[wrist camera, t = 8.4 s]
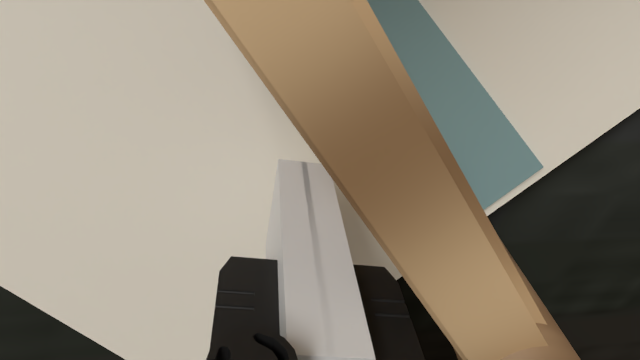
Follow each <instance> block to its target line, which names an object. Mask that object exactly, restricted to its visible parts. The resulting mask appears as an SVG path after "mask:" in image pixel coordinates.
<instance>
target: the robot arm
mask: <svg viewBox="0 0 640 360" xmlns="http://www.w3.org/2000/svg"><path fill="white" fill-rule="evenodd" d="M404 302H405V300H404V297H403V294H402V291H401V288H400V285H399V283H398V282H397V280H396V279H395V278H394V277H393V276H392V275H391V274H390V273H389V271H388V270H387V269H386V268H385V267H380V266H367V265H354V264H353V262H352V258H351V254H350V250H349V246H348V241H347V237H346V233H345V229H344V225H343V221H342V216H341V212H340V208H339V204H338V200H337V196H336V191H335V187H334V183H333V179H332V178H331V176H330V175H329V174H328V172H327V171H326V169H325V168H324V167H323V165H322V164H318V163H309V162H301V161H292V160H283V159H278V164H277V171H276V177H275V184H274V191H273V198H272V205H271V211H270V218H269V225H268V232H267V238H266V259H260V258H247V257H234V256H231V257H230V258H229V260H228V261H227V262H226V263H225V265H224V266H223V267H222V268H221V270H220V271H219V278H218V286H217V294H216V302H215V310H214V318H213V326H212V334H211V342H210V350H209V353H208V356H207V358H206V360H425V358H424V355H423V352H422V349H421V346H420V343H419V340H418V337H417V334H416V332H415V329H414V326H413V323H412V320H411V319H410V314H409V311H408V309H407V306H406V304H405V303H404Z"/></svg>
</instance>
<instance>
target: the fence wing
mask: <svg viewBox="0 0 640 360" xmlns="http://www.w3.org/2000/svg"><path fill="white" fill-rule="evenodd" d="M204 1H205V3H206V4H207V6H208V7H209V8H210V10H211V11H212V13H213V14H214V15H215V17H216V18H217V19H218V21H219V22H220V24H221V25H222V26H223V28H224V29H225V31H226V32H227V33H228V35H229V36H230V37H231V39H232V40H233V42H234V43H235V44H236V46H237V47H238V49H239V50H240V51H241V53H242V54H243V56H244V57H245V58H246V60H247V61H248V62H249V64H250V65H251V67H252V68H253V69H254V71H255V72H256V74H257V75H258V76H259V78H260V79H261V81H262V82H263V83H264V85H265V86H266V87H267V89H268V90H269V92H270V93H271V94H272V96H273V97H274V99H275V100H276V101H277V103H278V104H279V106H280V107H281V108H282V110H283V111H284V112H285V114H286V115H287V117H288V118H289V119H290V121H291V122H292V124H293V125H294V126H295V128H296V129H297V131H298V132H299V133H300V135H301V136H302V137H303V139H304V140H305V142H306V143H307V144H308V146H309V147H310V149H311V150H312V151H313V153H314V154H315V156H316V157H317V158H318V160H319V161H320V162H321V164H322V165H323V167H324V168H325V169H326V171H327V172H328V174H329V175H330V176H331V178H332V179H333V181H334V182H335V183H336V185H337V186H338V187H339V189H340V190H341V192H342V193H343V194H344V196H345V197H346V199H347V200H348V201H349V203H350V204H351V206H352V207H353V208H354V210H355V211H356V212H357V214H358V215H359V217H360V218H361V219H362V221H363V222H364V224H365V225H366V226H367V228H368V229H369V231H370V232H371V233H372V235H373V236H374V237H375V239H376V240H377V242H378V243H379V244H380V246H381V247H382V249H383V250H384V251H385V253H386V254H387V255H388V257H389V258H390V260H391V261H392V262H393V264H394V265H395V267H396V268H397V269H398V271H399V272H400V274H401V275H402V276H403V278H404V279H405V280H406V282H407V283H408V285H409V286H410V287H411V289H412V290H413V292H414V293H415V294H416V296H417V297H418V299H419V300H420V301H421V303H422V304H423V305H424V307H425V308H426V310H427V311H428V312H429V314H430V315H431V317H432V318H433V319H434V321H435V322H436V324H437V325H438V326H439V328H440V329H441V330H442V332H443V333H444V335H445V336H446V337H447V339H448V340H449V342H450V343H451V344H452V346H453V348H454V351H455V353H456V356H457V358H458V360H580V358H579V357H578V355H577V354H576V352H575V351H574V349H573V348H572V346H571V345H570V343H569V342H568V340H567V339H566V337H565V336H564V334H563V333H562V331H561V330H560V328H559V327H558V325H557V324H556V322H555V321H554V319H553V318H552V316H551V315H550V313H549V312H548V310H547V309H546V307H545V306H544V304H543V303H542V301H541V300H540V298H539V297H538V295H537V294H536V292H535V291H534V289H533V288H532V286H531V285H530V283H529V282H528V280H527V279H526V277H525V276H524V274H523V273H522V271H521V270H520V268H519V267H518V265H517V264H516V262H515V261H514V259H513V258H512V256H511V255H510V253H509V252H508V250H507V249H506V247H505V246H504V244H503V243H502V241H501V240H500V238H499V237H498V235H497V233H496V232H495V230H494V228H493V226H492V224H491V223H490V221H489V219H488V217H487V215H486V214H485V212H484V210H483V208H482V206H481V205H480V203H479V201H478V199H477V197H476V196H475V194H474V192H473V190H472V188H471V187H470V185H469V183H468V181H467V179H466V178H465V176H464V174H463V172H462V170H461V169H460V167H459V165H458V163H457V161H456V160H455V158H454V156H453V154H452V152H451V151H450V149H449V147H448V145H447V143H446V142H445V140H444V138H443V136H442V134H441V133H440V131H439V129H438V127H437V125H436V124H435V122H434V120H433V118H432V116H431V115H430V113H429V111H428V109H427V107H426V106H425V104H424V102H423V100H422V98H421V97H420V95H419V93H418V91H417V89H416V88H415V86H414V84H413V82H412V80H411V79H410V77H409V75H408V73H407V71H406V70H405V68H404V66H403V64H402V62H401V61H400V59H399V57H398V55H397V53H396V52H395V50H394V48H393V46H392V44H391V43H390V41H389V39H388V37H387V35H386V34H385V32H384V30H383V28H382V26H381V25H380V23H379V21H378V19H377V17H376V16H375V14H374V12H373V10H372V8H371V7H370V5H369V3H368V1H367V0H204Z"/></svg>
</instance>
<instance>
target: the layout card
mask: <svg viewBox="0 0 640 360" xmlns="http://www.w3.org/2000/svg"><path fill="white" fill-rule="evenodd" d="M367 1H368V3H369V5H370V7H371V8H372V10H373V12H374V14H375V16H376V17H377V19H378V21H379V23H380V25H381V26H382V28H383V30H384V32H385V34H386V35H387V37H388V39H389V41H390V43H391V44H392V46H393V48H394V50H395V52H396V53H397V55H398V57H399V59H400V61H401V62H402V64H403V66H404V68H405V70H406V71H407V73H408V75H409V77H410V79H411V80H412V82H413V84H414V86H415V88H416V89H417V91H418V93H419V95H420V97H421V98H422V100H423V102H424V104H425V106H426V107H427V109H428V111H429V113H430V115H431V116H432V118H433V120H434V122H435V124H436V125H437V127H438V129H439V131H440V133H441V134H442V136H443V138H444V140H445V142H446V143H447V145H448V147H449V149H450V151H451V152H452V154H453V156H454V158H455V160H456V161H457V163H458V165H459V167H460V169H461V170H462V172H463V174H464V176H465V178H466V179H467V181H468V183H469V185H470V187H471V188H472V190H473V192H474V194H475V196H476V197H477V199H478V201H479V203H480V205H481V206H482V208H483V210H484V212H485V214H486V215H487V216H488V215H489V214H491V213H492V212H494V211H495V210H496V209H498V208H499V207H501V206H502V205H503V204H505V203H506V202H508V201H509V200H511V199H512V198H513V197H515V196H516V195H518V194H519V193H520V192H522V191H523V190H525V189H526V188H527V187H529V186H530V185H532V184H533V183H535V182H536V181H537V180H539V179H540V178H542V177H543V176H544V175H546V174H547V173H549V172H550V171H552V170H553V169H554V168H556V167H557V166H559V165H560V164H561V163H563V162H564V161H566V160H567V159H568V158H570V157H571V156H573V155H574V154H576V153H577V152H578V151H580V150H581V149H583V148H584V147H585V146H587V145H588V144H590V143H591V142H593V141H594V140H595V139H597V138H598V137H600V136H601V135H602V134H604V133H605V132H607V131H608V130H609V129H611V128H612V127H614V126H615V125H617V124H618V123H619V122H621V121H622V120H624V119H625V118H626V117H628V116H629V115H631V114H632V113H633V112H635V111H636V110H638V109H639V108H640V0H367ZM278 159H283V160H292V161H301V162H309V163H318V164H321V162H320V161H319V160H318V158H317V157H316V156H315V154H314V153H313V151H312V150H311V149H310V147H309V146H308V144H307V143H306V142H305V140H304V139H303V137H302V136H301V135H300V133H299V132H298V131H297V129H296V128H295V126H294V125H293V124H292V122H291V121H290V119H289V118H288V117H287V115H286V114H285V112H284V111H283V110H282V108H281V107H280V106H279V104H278V103H277V101H276V100H275V99H274V97H273V96H272V94H271V93H270V92H269V90H268V89H267V87H266V86H265V85H264V83H263V82H262V81H261V79H260V78H259V76H258V75H257V74H256V72H255V71H254V69H253V68H252V67H251V65H250V64H249V62H248V61H247V60H246V58H245V57H244V56H243V54H242V53H241V51H240V50H239V49H238V47H237V46H236V44H235V43H234V42H233V40H232V39H231V37H230V36H229V35H228V33H227V32H226V31H225V29H224V28H223V26H222V25H221V24H220V22H219V21H218V19H217V18H216V17H215V15H214V14H213V13H212V11H211V10H210V8H209V7H208V6H207V4H206V3H205V1H204V0H0V286H2V287H3V288H5V289H7V290H8V291H10V292H12V293H14V294H15V295H17V296H19V297H20V298H22V299H24V300H25V301H27V302H29V303H31V304H32V305H34V306H36V307H37V308H39V309H41V310H42V311H44V312H46V313H47V314H49V315H51V316H53V317H54V318H56V319H58V320H59V321H61V322H63V323H64V324H66V325H68V326H70V327H71V328H73V329H75V330H76V331H78V332H80V333H81V334H83V335H85V336H86V337H88V338H90V339H92V340H93V341H95V342H97V343H98V344H100V345H102V346H103V347H105V348H107V349H109V350H110V351H112V352H114V353H115V354H117V355H119V356H120V357H122V358H124V359H125V360H206V358H207V356H208V353H209V350H210V342H211V334H212V326H213V318H214V310H215V302H216V294H217V286H218V278H219V271H220V270H221V268H222V267H223V266H224V265H225V263H226V262H227V261H228V260H229V258H230V257H231V256H234V257H247V258H260V259H266V238H267V232H268V225H269V218H270V211H271V205H272V198H273V191H274V184H275V177H276V171H277V164H278ZM333 183H334V187H335V191H336V196H337V200H338V204H339V208H340V212H341V216H342V221H343V225H344V229H345V233H346V237H347V241H348V246H349V250H350V254H351V258H352V262H353V264H354V265H367V266H380V267H385V268H386V269H387V270H388V271H389V273H390V274H391V275H392V276H393V277H394V278H395V279H396V280H397V279H399V278H400V277H402V275H401V274H400V272H399V271H398V269H397V268H396V267H395V265H394V264H393V262H392V261H391V260H390V258H389V257H388V255H387V254H386V253H385V251H384V250H383V249H382V247H381V246H380V244H379V243H378V242H377V240H376V239H375V237H374V236H373V235H372V233H371V232H370V231H369V229H368V228H367V226H366V225H365V224H364V222H363V221H362V219H361V218H360V217H359V215H358V214H357V212H356V211H355V210H354V208H353V207H352V206H351V204H350V203H349V201H348V200H347V199H346V197H345V196H344V194H343V193H342V192H341V190H340V189H339V187H338V186H337V185H336V183H335V182H334V181H333Z"/></svg>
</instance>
